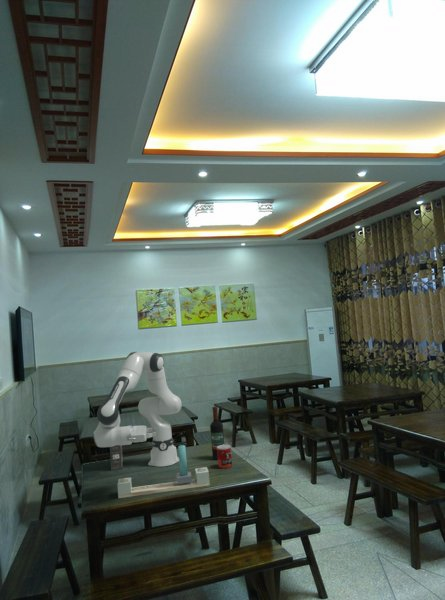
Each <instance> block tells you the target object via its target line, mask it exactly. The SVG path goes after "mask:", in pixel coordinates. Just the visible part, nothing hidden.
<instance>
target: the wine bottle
mask: <svg viewBox="0 0 445 600" xmlns="http://www.w3.org/2000/svg"><path fill="white" fill-rule="evenodd" d="M212 415H213V416H212V417H213V421H212V422H211V423H210V425H209V431H210V441H211V453H212V460H213V461H218V455H217V446H219V445H225V436H224V425H223V423H222V422H221V421H220V420H219V413H218V406H212Z"/></svg>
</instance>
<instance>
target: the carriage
mask: <svg viewBox="0 0 445 600" xmlns="http://www.w3.org/2000/svg"><path fill="white" fill-rule="evenodd" d="M177 449H178V450H177V451H178V458H179V462H178V463H179V472H178V473H176V481H177V482H178V484H183V483H190V482H192V479H193V478H192V472H191V471H188V464H187V463H188V462H187V451H186V450H187V449H186V445H184V444H183V445H182V444H181V445H179V446H178V447H177Z"/></svg>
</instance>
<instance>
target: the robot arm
mask: <svg viewBox="0 0 445 600" xmlns="http://www.w3.org/2000/svg"><path fill="white" fill-rule="evenodd" d="M164 365H165V360H164V357H163V355H162V354H160V353H158V352H151V351H132V352H130V353H129V354H128V355H127V357H126V359H125V361H124V362H123V364H122V366H121V367H120V371H119V372H118V375H117V377H116V380H115V383H114V385H113V387H112V389H111V390H110V393H109V394H108V397H107V398H106V400H105V401H104V402H103V403H102V404H101V405H100V406H99V407H98V409H97V411H96V417H97V420H98V421H99V423H98V425H97V426H96V429H95V430H94V431H93V433H92V436H93V437H92V438H93V441H94V444H95V446H96V447H97V448H110V447H113V446H116V445H122V446H128V445H132V443H143V442H147V439H150V438H152V442H151V443H152V449H151V450H150V460H149V461H148V464H147V465H148V466H153V467H160V468H161V467H168V466H172V465H174V464H176V463H179V456H178V453H177V447H176V446H175V445H174V439H173V438H174V437H173V436H172V426H171V424H170V422H169V421H167V420H165V419H163V418H162V417H161V416H168V415H174V414H177V413H179V412H180V411H181V410H182V400H181V398H180V397H179V396H178V395H176V394H174V393H173V392H172V391H171V390H170V388H169V386H168V383H167V378H166V373H165V372H166V371H165V368H164ZM142 373H145V379H146V386H147V390H148V391H149V393H151V394H153V395H155V396H148V397H144V398H142V399H140V401H139V403H138V405H137V408H138V409H137V410H138V413H139V414H140V415H141V416H143V417H144V418H145V419H146V420H147V421H148V422H149V424H150V427H147V425H133V426H132V424H130V425H129V424H128V425H127V426H126V425H124V426H121V416H120V410H119V406H120V403H121V401H122V398H124V394H125V393H126V391H130V390H133V389H135V388H136V386H137V384H138V383H139V381H140V378H141V375H142ZM119 426H120V427H119Z"/></svg>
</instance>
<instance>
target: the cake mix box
mask: <svg viewBox="0 0 445 600" xmlns="http://www.w3.org/2000/svg"><path fill="white" fill-rule="evenodd" d="M119 427H121V425H120V426H119ZM122 446H123V445H116V446H113V447H109V454H110V467H111V468H110V469H111V470H110V471H111V472H112V471H119V470H123V458H124V457H123V447H122Z"/></svg>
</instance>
